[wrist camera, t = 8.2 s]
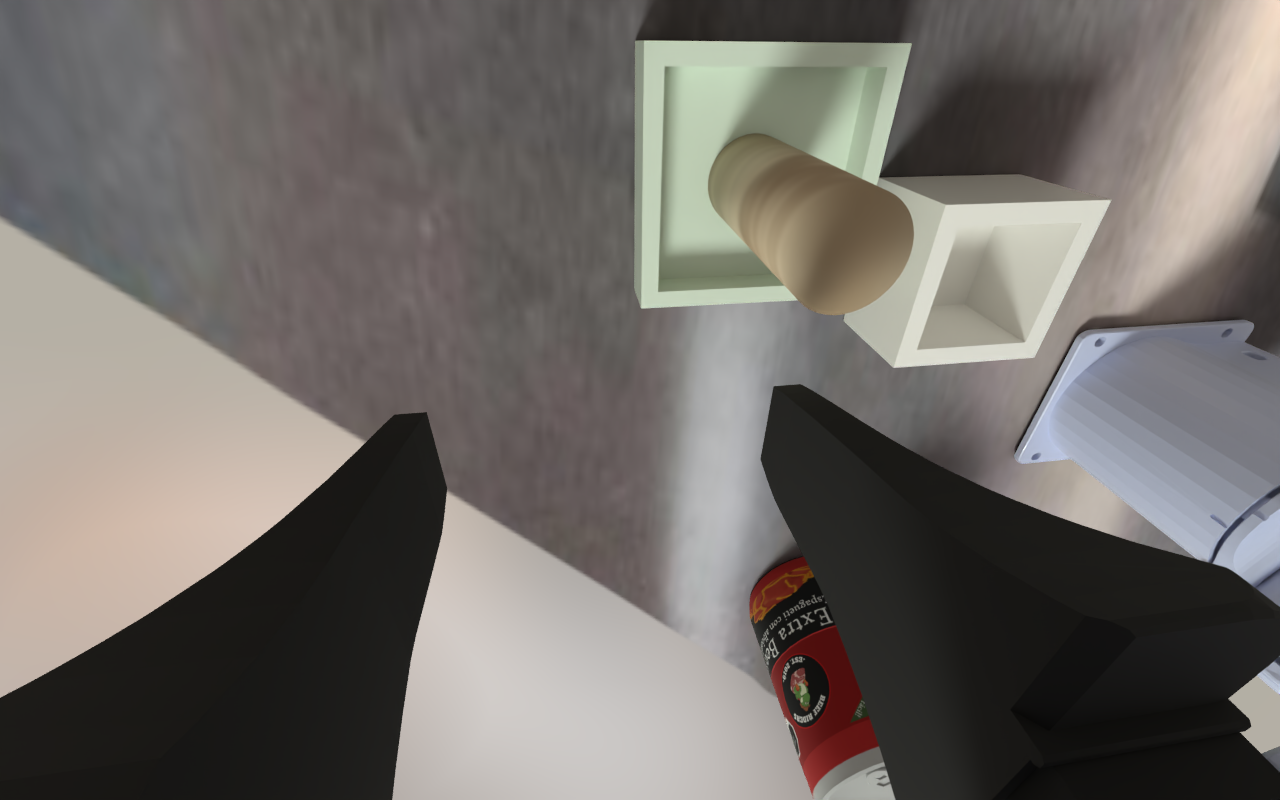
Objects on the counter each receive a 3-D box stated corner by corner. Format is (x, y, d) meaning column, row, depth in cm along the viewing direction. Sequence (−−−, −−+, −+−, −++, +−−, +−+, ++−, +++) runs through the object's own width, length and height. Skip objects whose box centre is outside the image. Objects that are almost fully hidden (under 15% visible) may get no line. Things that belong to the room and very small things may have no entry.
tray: (880, 43, 17) (912, 43, 16) (828, 279, 22) (849, 297, 20) (635, 40, 16) (643, 40, 15) (634, 289, 21) (641, 308, 19)
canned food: (797, 536, 31) (902, 743, 22) (887, 569, 34) (1012, 761, 25) (720, 613, 34) (783, 821, 25) (809, 636, 37) (894, 828, 28)
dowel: (798, 131, 18) (930, 184, 11) (785, 223, 19) (894, 310, 13) (710, 134, 17) (798, 189, 11) (705, 227, 19) (778, 318, 13)
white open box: (1019, 174, 20) (1111, 199, 17) (965, 313, 23) (1034, 357, 20) (878, 177, 19) (945, 205, 16) (843, 320, 23) (893, 367, 19)
